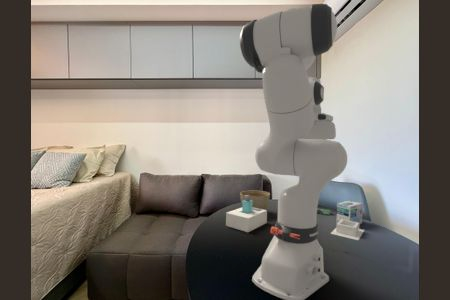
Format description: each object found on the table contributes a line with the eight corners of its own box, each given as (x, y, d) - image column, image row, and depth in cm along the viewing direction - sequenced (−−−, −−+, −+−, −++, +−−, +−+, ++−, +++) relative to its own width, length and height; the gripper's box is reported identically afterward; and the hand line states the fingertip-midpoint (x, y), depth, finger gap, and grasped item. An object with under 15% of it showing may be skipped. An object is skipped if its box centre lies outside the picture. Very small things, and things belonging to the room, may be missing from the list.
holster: (358, 244, 88) (358, 231, 88) (330, 237, 94) (330, 224, 94) (364, 233, 99) (364, 221, 99) (338, 227, 105) (339, 216, 105)
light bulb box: (350, 230, 102) (350, 206, 102) (335, 225, 108) (336, 202, 107) (362, 226, 108) (363, 203, 108) (348, 222, 114) (349, 200, 113)
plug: (247, 221, 106) (247, 196, 105) (242, 220, 108) (242, 195, 107) (252, 219, 109) (252, 195, 108) (246, 218, 111) (247, 194, 110)
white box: (247, 232, 98) (248, 217, 98) (226, 225, 106) (226, 212, 106) (266, 222, 110) (266, 209, 110) (245, 217, 118) (246, 205, 118)
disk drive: (299, 215, 126) (329, 219, 118) (299, 210, 126) (329, 214, 118) (303, 210, 135) (331, 214, 127) (303, 205, 135) (331, 209, 127)
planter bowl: (249, 207, 138) (249, 189, 137) (274, 212, 128) (274, 192, 128) (234, 213, 125) (234, 193, 124) (261, 219, 115) (261, 197, 115)
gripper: (283, 118, 102) (282, 149, 103) (333, 115, 89) (332, 151, 90) (289, 119, 107) (288, 149, 107) (337, 116, 94) (336, 150, 94)
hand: (309, 150), depth 98 cm, fingers open, 8 cm apart
